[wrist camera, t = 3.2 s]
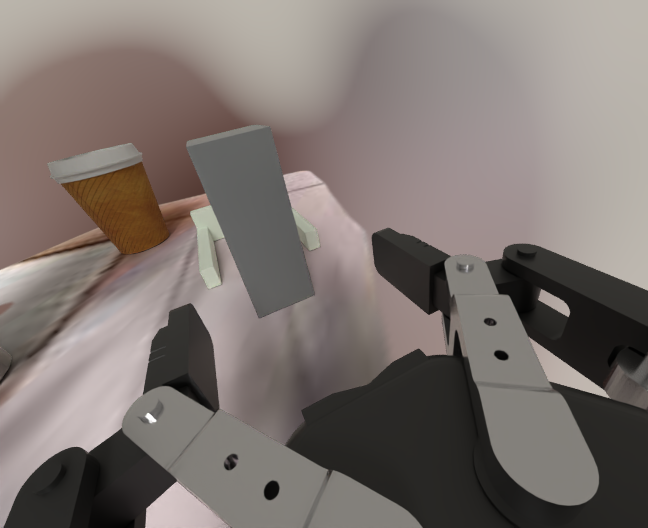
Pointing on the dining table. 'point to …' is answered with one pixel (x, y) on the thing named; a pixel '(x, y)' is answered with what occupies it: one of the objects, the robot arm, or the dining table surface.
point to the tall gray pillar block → (254, 214)
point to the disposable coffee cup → (114, 195)
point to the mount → (211, 232)
